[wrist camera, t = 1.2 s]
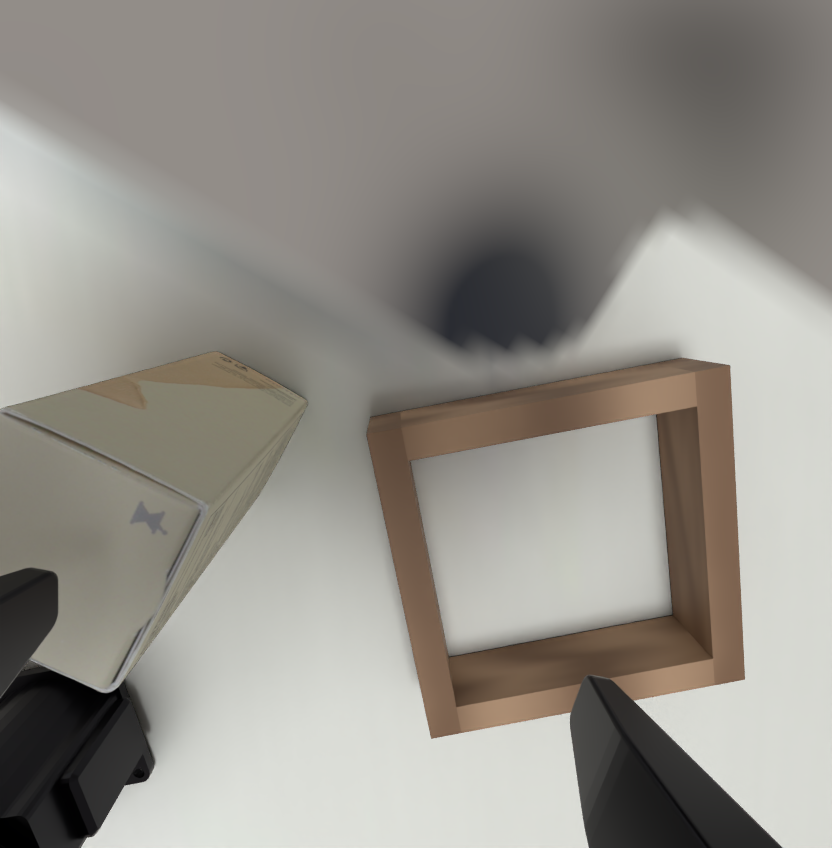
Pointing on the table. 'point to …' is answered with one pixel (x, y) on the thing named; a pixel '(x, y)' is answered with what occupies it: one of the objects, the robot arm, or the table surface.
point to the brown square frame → (603, 648)
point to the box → (133, 497)
